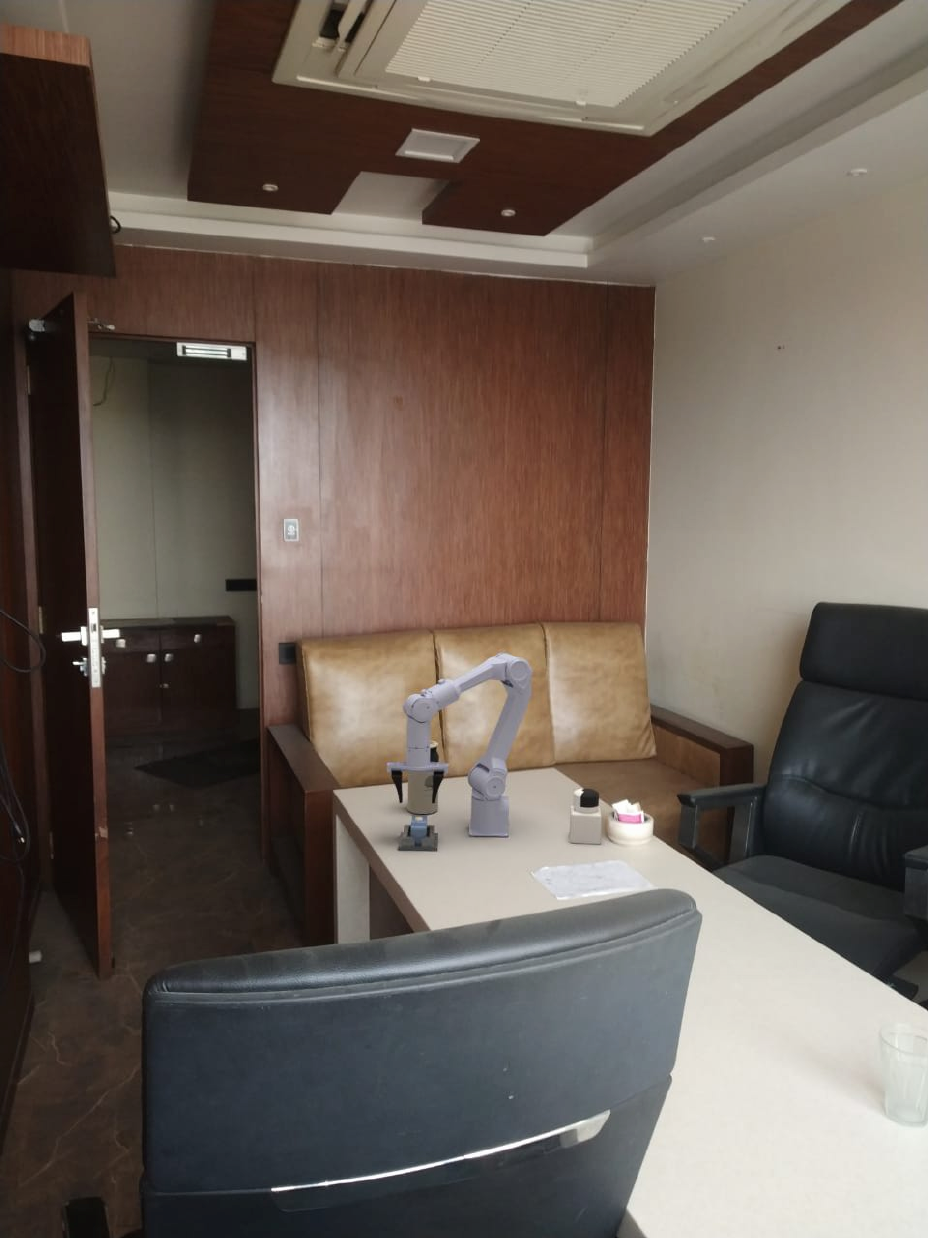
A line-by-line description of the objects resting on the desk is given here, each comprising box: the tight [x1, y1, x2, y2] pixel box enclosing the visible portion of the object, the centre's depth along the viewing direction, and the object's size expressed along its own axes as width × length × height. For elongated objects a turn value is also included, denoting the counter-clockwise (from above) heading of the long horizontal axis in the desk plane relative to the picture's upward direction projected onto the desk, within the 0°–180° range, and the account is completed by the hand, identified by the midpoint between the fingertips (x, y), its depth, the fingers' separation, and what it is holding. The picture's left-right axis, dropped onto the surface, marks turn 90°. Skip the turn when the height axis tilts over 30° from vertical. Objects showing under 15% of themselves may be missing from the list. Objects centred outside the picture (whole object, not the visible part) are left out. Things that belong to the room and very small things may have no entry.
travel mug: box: [407, 740, 440, 815], centre depth 229 cm, size 8×8×18 cm
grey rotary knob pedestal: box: [569, 788, 603, 845], centre depth 211 cm, size 7×7×12 cm
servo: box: [410, 814, 428, 844], centre depth 206 cm, size 4×7×6 cm, turn 0°
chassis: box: [397, 824, 439, 852], centre depth 206 cm, size 9×10×3 cm
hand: (417, 802), depth 207 cm, fingers open, 7 cm apart
